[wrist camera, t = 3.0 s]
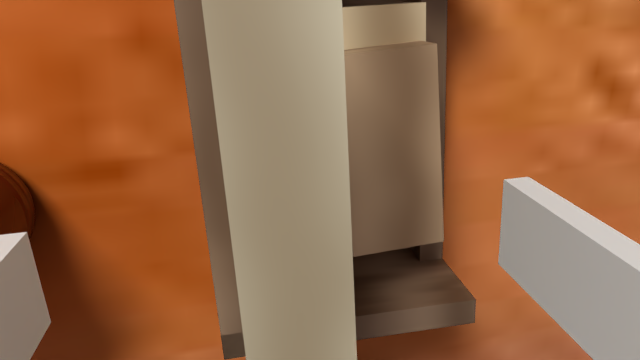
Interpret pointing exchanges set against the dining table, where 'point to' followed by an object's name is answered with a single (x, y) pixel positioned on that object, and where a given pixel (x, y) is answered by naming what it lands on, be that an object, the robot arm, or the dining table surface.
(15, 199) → the mug
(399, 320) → the rack
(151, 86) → the dining table surface
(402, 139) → the offcut top
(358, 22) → the offcut mid
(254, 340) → the birch board
